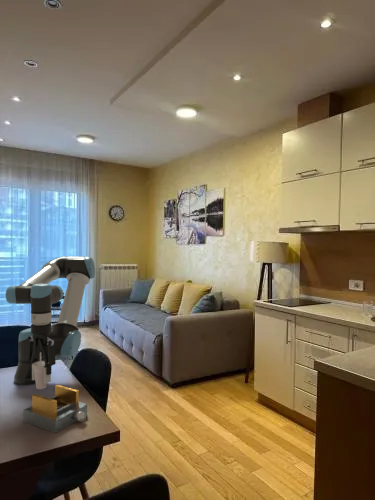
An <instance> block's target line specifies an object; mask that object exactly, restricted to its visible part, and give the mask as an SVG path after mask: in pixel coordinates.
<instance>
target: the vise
mask: <svg viewBox="0 0 375 500" xmlns="http://www.w3.org/2000/svg"><path fill="white" fill-rule="evenodd" d="M79 395H80V391H79V390H78V389H75V388H71V387H67V386H63V385H60V384H56V385H55V386H54V396H52V397H47V396H43V395H39V394H37V393H34V394H32V395H31V396H32V397H31V398H32V399H31V401H32V402H31V406H29V407H26V408H25V409H24V408H23V415H22V416H23V422H24V423H27V424H30V425H32V426H35V427H38V428H41V429H42V430H47V431H48V432H51V433H55V434H56V433H58V432H60V431H61V430H64V429H65V428H67V427H70V426H71V425H73V424H74V423H76V422H80V423H82V422H84V421H85V420H86V418H87V416H88V404H87V403H84V402H80V400H79V399H80V396H79Z"/></svg>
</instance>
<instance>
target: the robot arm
mask: <svg viewBox="0 0 375 500" xmlns="http://www.w3.org/2000/svg"><path fill="white" fill-rule="evenodd" d="M95 276H96V267H95V262H94V259H93V258H92V256H85V255H84V256H67V255H66V256H64V255H63V256H59V257H55V258H53V259H51V260H49V261H48V262H46V263H44V265H42V267H41V269H39V270H38V271H37V272H35V273H34V274H33V275H31V276H30V277H29V278H28V279H26V280H25V281H24V282H22V283H21V284H19V285H11V286H8V287H7V289H6V290H5V300H6V303H8V304H15V305H30V323H31V325H30V328H26V329H23V330H21V331H20V332H19V334H18V340H17V341H18V342H17V343H18V363H17V367H16V371H15V374H14V378H13V382H14V383H15V384H17V385H25V386H26V385H34V384H35V385H36V382H35V375H34V368H33V363H35V362H38V361H40V352H41V361H44V362H45V366H44V384H46V383H47V384H48V383H51V382H52V366H54V365H56V364H57V362H56V357H58V358H60V357H61V358H69V357H73V356H75V355H76V354H77V352H78V351H79V349H80V347H81V346H80V345H81V343H82V340H81V339H82V332H81V331H80V329H79V327H78V326H77V325H78V321H79V316H80V311H81V306H82V301H83V297H84V293H85V290H86V289H85V288H86V285H88V284H89V283H90V280H92V279H94V278H95ZM57 279H66V281H67V282H68V283H67V286H66V289H65V290H66V291H65V294H64V290H63V288H62V287H61V286H59V285H57V284H55V285H54V284H50V283H51V282H52V281H53V282H54V281H57ZM63 297H64V298H63ZM61 300H63V301H62V306H61V309H60V313H59V316H58V321H57V322H55V324H53V326H52V323H51V322H52V305H53V304H57V303H58V302H60V301H61Z"/></svg>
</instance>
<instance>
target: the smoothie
mask: <svg viewBox="0 0 375 500" xmlns="http://www.w3.org/2000/svg"><path fill="white" fill-rule="evenodd" d="M44 366H45V362H44V361H41V352H40V361H38V362H35V363H33V368H34V375H35V382H36V384H35V388H36V389H37V390H43V389H46V388H47V386H48V383H46V384H44Z"/></svg>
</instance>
